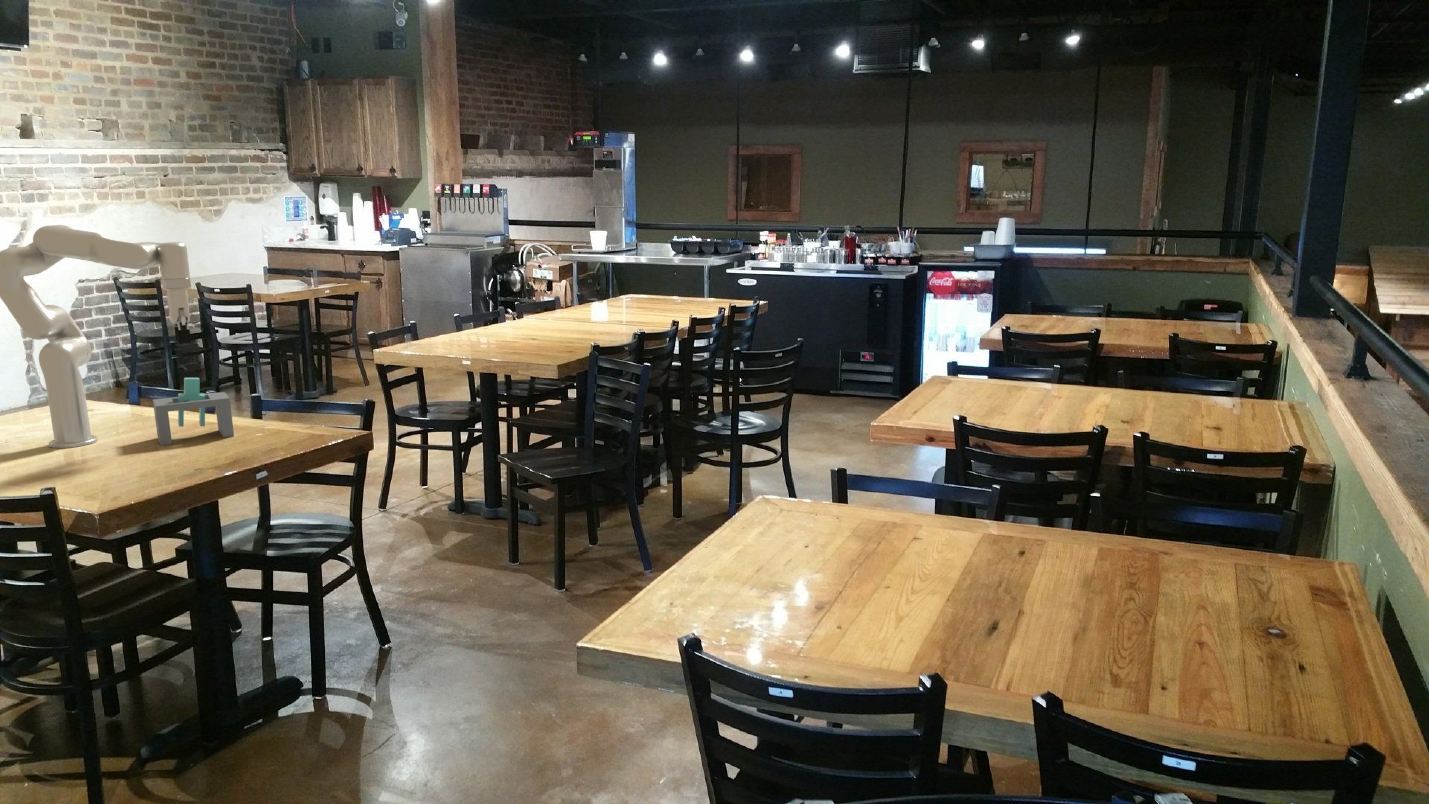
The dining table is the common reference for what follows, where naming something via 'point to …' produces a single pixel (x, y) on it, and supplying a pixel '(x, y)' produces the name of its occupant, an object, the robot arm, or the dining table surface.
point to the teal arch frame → (191, 399)
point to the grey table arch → (210, 400)
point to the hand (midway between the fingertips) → (183, 341)
